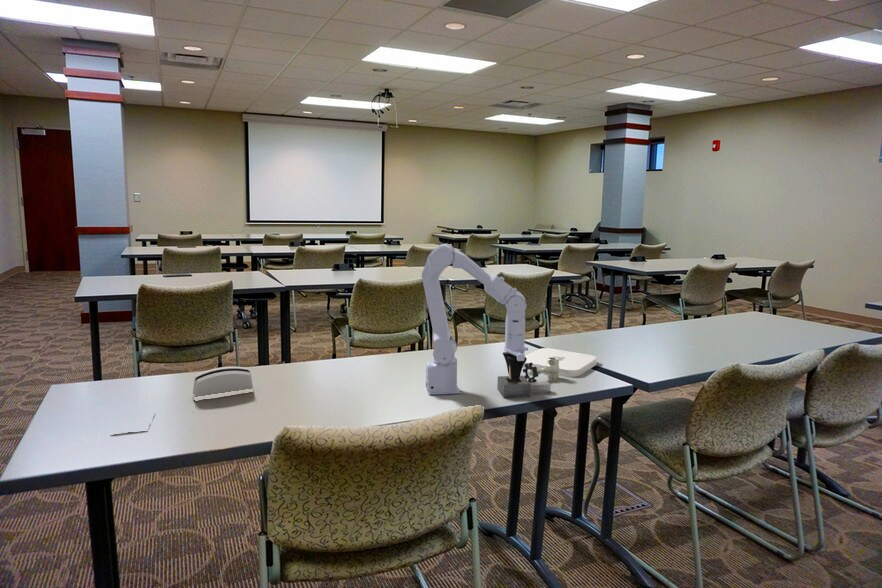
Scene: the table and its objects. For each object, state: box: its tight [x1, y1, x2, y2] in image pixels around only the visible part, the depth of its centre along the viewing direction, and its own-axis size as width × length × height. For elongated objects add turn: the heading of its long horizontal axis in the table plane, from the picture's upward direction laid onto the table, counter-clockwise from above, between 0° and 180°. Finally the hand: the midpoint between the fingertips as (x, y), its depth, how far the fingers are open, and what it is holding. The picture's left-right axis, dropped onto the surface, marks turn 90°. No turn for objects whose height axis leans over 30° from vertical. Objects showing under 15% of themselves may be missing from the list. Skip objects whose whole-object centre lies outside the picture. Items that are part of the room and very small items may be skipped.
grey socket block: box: [496, 375, 552, 399], centre depth 166 cm, size 15×8×4 cm, turn 97°
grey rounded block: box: [192, 366, 254, 397], centre depth 162 cm, size 17×5×10 cm, turn 119°
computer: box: [522, 347, 598, 378], centre depth 195 cm, size 22×22×3 cm
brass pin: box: [508, 366, 518, 383], centre depth 165 cm, size 3×3×6 cm
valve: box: [522, 357, 560, 383], centre depth 178 cm, size 7×7×12 cm
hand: (513, 377), depth 165 cm, fingers closed on brass pin, 3 cm apart
